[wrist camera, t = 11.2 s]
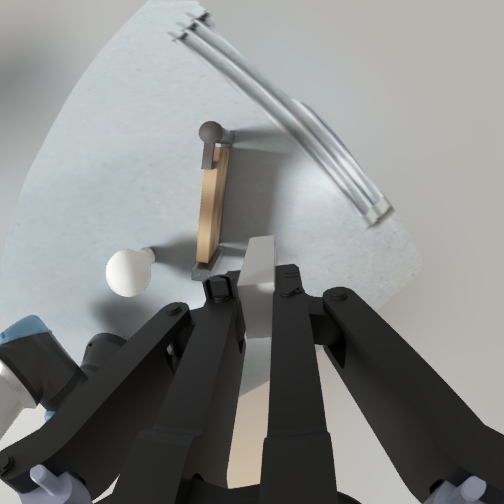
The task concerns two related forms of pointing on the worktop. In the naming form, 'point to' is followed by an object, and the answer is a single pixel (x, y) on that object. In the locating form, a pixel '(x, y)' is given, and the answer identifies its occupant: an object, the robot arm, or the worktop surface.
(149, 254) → the light bulb
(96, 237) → the worktop surface
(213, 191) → the gate
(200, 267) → the gate frame
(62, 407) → the robot arm
